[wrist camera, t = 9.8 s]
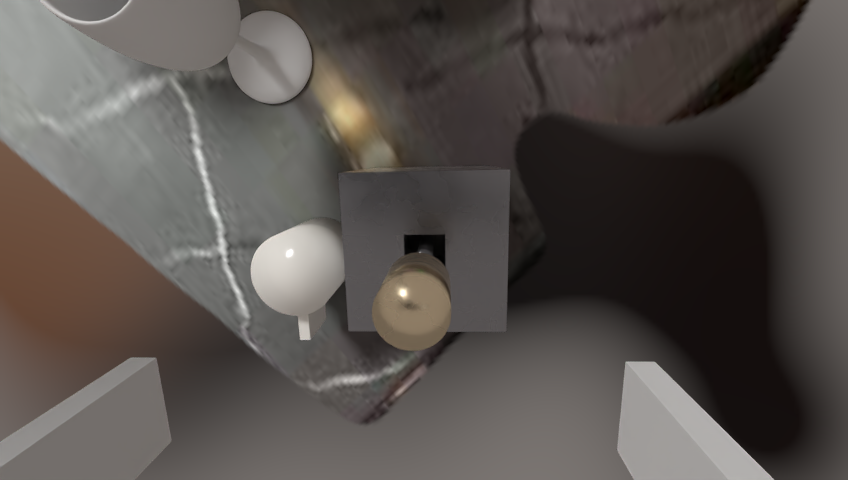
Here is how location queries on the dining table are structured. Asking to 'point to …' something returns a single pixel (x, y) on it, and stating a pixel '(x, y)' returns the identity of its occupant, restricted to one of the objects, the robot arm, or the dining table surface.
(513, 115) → the dining table surface
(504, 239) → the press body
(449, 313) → the plunger
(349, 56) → the dining table surface
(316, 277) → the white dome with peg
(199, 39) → the wineglass
